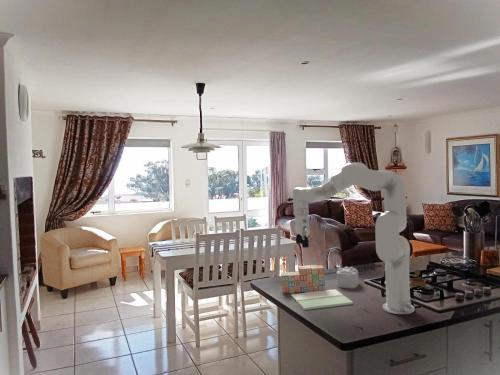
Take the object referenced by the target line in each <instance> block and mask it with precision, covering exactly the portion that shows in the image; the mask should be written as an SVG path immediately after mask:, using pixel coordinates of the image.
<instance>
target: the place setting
mask: <svg viewBox="0 0 500 375" xmlns="http://www.w3.org/2000/svg"><path fill="white" fill-rule="evenodd" d="M420 271H421V270H420V269H414V275H415V276H416V277H418V278H416V277H413V278H409V283H411V287H412V286H425V285H426V284H427V283H426V282H427V281H426V279H425V278H421V277H419V276H420V275H421V272H420Z"/></svg>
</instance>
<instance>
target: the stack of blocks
mask: <svg viewBox="0 0 500 375" xmlns="http://www.w3.org/2000/svg"><path fill="white" fill-rule="evenodd" d="M297 267H298V268H297V270H298V271H287V272H286V271H285V272H281V273H280V276H281V291H282V292H281V293H282V294H295V293H294V292H304V293H307V292H315V291H324V290H326V287H325V286H326V285H325V280H326V279H325V267H324V266H323V264H322V265H321V264H319V265H318V264H317V265H316V264H311V265H309V264H308V265H298V266H297Z"/></svg>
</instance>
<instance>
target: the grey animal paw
mask: <svg viewBox="0 0 500 375" xmlns="http://www.w3.org/2000/svg"><path fill="white" fill-rule="evenodd" d="M359 284H360V283H359V270H358V269H357V268H354V267H353V266H350V267H348V266H345V267H344V268H342V267H339V268H338V269H337V271H336V286H337V287H338V288H345V289H355V288H357V287H358V286H359Z"/></svg>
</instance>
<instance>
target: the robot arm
mask: <svg viewBox="0 0 500 375" xmlns="http://www.w3.org/2000/svg"><path fill="white" fill-rule="evenodd" d="M405 185H406V184H405V182H404V180H403V179H402V177H401V176H400V175H399V174H397V173H396V172H394V171H392V170H389V169H388V170H387V169H380V170H374V169H370V168H368V167H367V165H366V164H365V163H363V162H347V163H346V164H344V165H343V167H342V168H341V169H340V170H339V171H337V172H336V173H333V174H331V176H330V180H329V181H327V182H325V183H323V184H321V185H319V186H311V187H304V186H303V187H301V186H300V187H294V188H293V189H292V202H293V203H292V204H293V216H294V230H295V243H296V245H302V246H301V248H303V249H304V248H305V249H306V248H309V247H310V245H309V244H310V243H309V241H310V240H309V238H310V234H311V231H310V230H311V228H310V218H309V215H310V214H309V203H310V204H314V203H317V202H324V201H325V200H328V199H329V198H332V197H334V196H336V195H337V194H339V193H341V192H342V191H344V190H346V189H348V188H350V187H352V186H356V187H360V188H362V189H365V190H367V191H372V192H379V191H385V194H384V198H383V199H384V203H383V204H384V212H383V213H381V214H379V215H378V217H377V219H376V220H375V226H374V231H375V252H376V255H377V257H378V258H379V259H380V260H381V261H383V262H384V264H385V265H384V268H385V269H384V272H385V276H384V277H385V278H384V280H385V299H386V300H385V301H386V302H385V303H383V304H382V309H383V311H385V312H386V313H390V314H394V315H411V314H413V313H414V312H415V307H414V305H413V304H412V301H411V291H410V288H411V287H410V255H411V246H410V242H409V241H408V239H407V238H406V237H404V236H403V235H400V233H401V232H402V231H404V230H405V229H406V227H407V220H408V219H407V218H408V217H407V202H406V201H407V198H406V196H407V195H406V193H407V192H406V186H405Z"/></svg>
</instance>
